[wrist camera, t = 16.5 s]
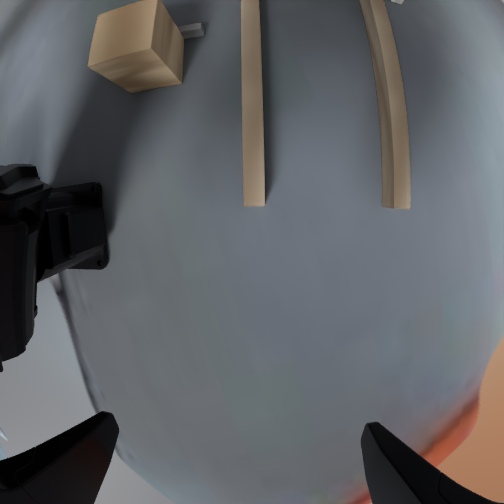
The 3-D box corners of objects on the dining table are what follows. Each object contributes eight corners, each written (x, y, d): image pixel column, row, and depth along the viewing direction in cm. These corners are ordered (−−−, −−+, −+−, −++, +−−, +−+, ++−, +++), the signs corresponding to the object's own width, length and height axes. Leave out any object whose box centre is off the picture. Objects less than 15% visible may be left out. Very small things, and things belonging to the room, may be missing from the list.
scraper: (113, 97, 17) (67, 74, 11) (119, 48, 16) (80, 16, 10) (203, 81, 17) (178, 42, 11) (204, 30, 16) (184, -16, 10)
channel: (246, 204, 18) (243, 206, 16) (243, -14, 14) (240, -28, 13) (396, 206, 18) (409, 209, 16) (371, -4, 14) (378, -16, 12)
